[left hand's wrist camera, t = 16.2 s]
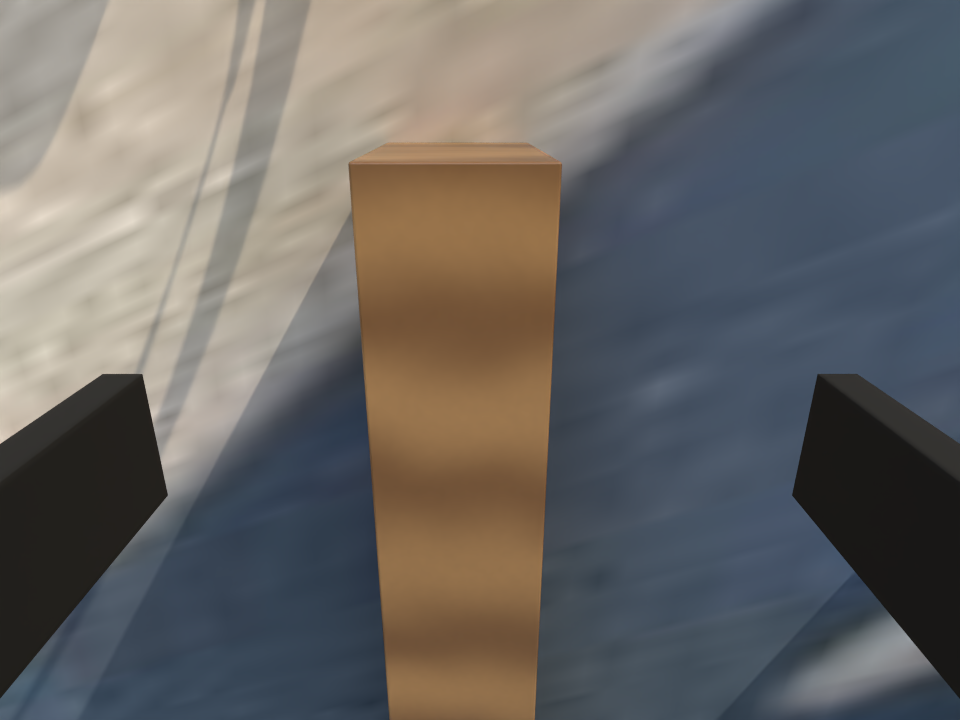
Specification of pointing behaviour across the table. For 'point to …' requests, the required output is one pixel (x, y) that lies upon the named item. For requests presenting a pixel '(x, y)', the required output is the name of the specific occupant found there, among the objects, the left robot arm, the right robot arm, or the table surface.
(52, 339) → the table surface
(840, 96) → the table surface
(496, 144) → the beam
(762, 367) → the table surface
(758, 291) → the table surface
